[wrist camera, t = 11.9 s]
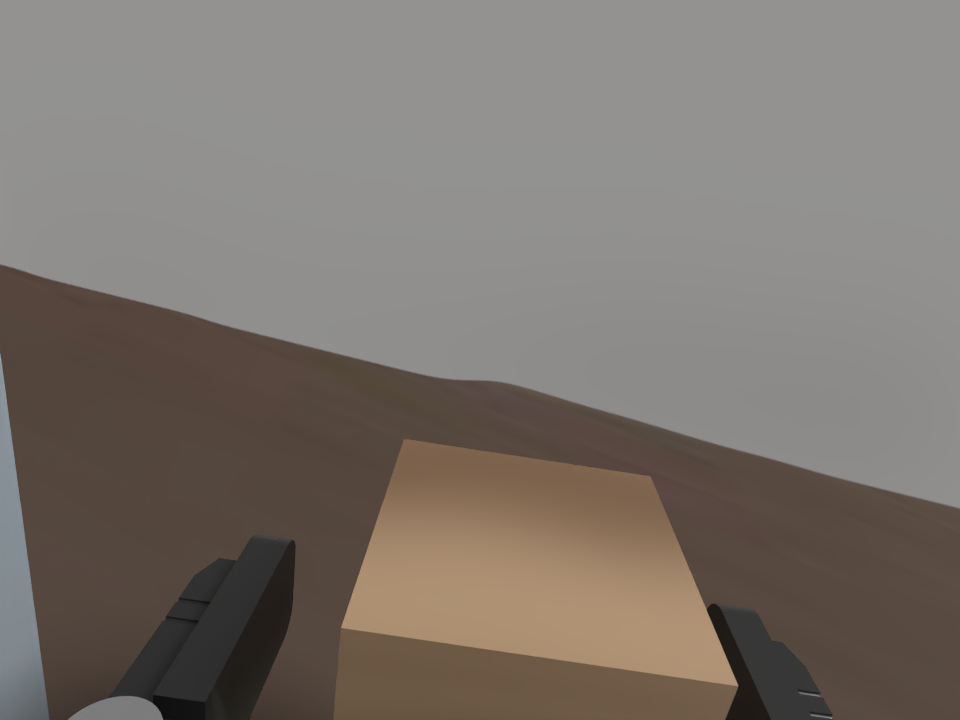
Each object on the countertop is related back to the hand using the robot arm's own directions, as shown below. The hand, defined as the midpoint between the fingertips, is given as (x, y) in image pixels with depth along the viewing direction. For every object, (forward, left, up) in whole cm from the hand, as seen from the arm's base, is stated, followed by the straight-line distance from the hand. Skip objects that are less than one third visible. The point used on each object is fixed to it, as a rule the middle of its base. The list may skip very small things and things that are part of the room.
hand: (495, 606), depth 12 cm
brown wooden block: (-1, -1, -8) cm, 8 cm away
